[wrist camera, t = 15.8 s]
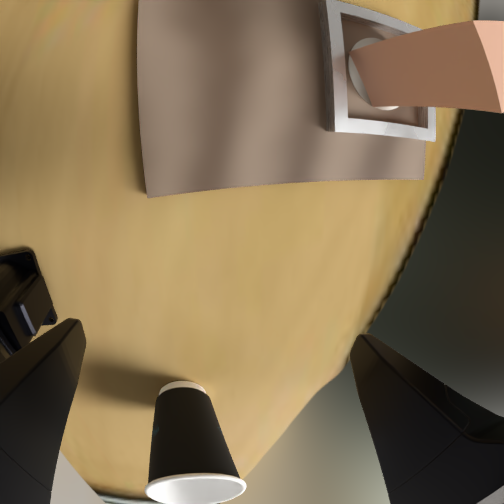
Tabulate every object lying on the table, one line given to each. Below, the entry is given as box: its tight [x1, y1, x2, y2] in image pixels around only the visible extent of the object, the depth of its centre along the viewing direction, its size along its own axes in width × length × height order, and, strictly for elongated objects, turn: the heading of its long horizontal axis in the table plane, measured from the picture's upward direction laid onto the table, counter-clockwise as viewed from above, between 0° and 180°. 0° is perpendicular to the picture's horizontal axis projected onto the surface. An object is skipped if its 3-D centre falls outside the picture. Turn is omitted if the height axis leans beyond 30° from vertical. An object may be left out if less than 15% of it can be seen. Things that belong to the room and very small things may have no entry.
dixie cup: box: [145, 381, 246, 504], centre depth 21 cm, size 8×8×11 cm
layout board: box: [137, 0, 436, 198], centre depth 16 cm, size 22×14×2 cm, turn 92°
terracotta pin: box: [349, 21, 504, 113], centre depth 12 cm, size 4×4×11 cm
